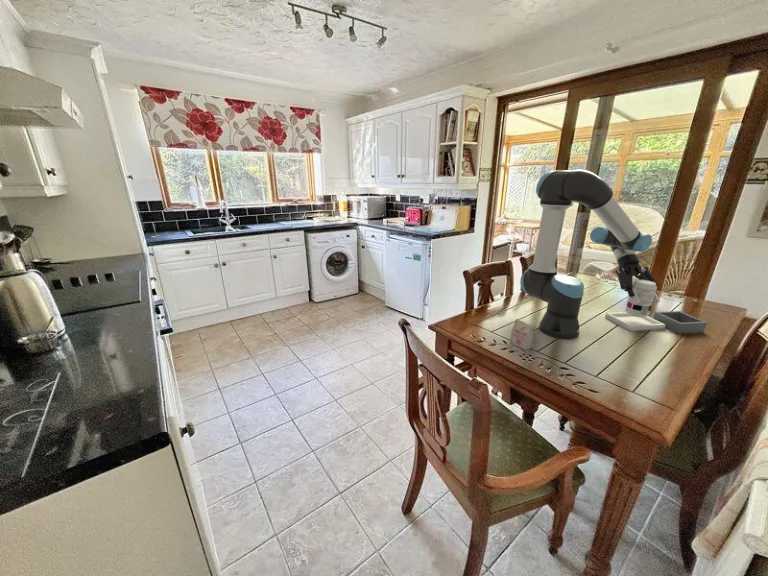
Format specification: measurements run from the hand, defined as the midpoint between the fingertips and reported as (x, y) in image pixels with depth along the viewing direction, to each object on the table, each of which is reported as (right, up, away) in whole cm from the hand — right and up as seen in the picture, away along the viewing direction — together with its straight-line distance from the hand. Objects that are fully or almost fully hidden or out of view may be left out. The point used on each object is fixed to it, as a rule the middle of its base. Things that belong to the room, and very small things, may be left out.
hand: (647, 303), depth 134 cm
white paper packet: (-59, -16, -11) cm, 62 cm away
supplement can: (0, -5, +6) cm, 8 cm away
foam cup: (+21, 0, +33) cm, 39 cm away
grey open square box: (+16, -10, +3) cm, 19 cm away
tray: (-1, -9, +7) cm, 11 cm away
